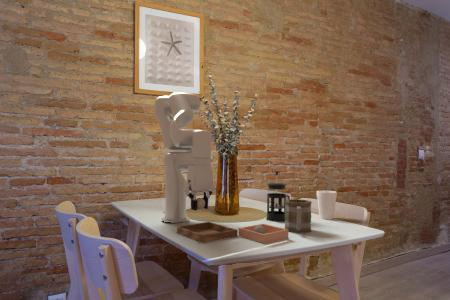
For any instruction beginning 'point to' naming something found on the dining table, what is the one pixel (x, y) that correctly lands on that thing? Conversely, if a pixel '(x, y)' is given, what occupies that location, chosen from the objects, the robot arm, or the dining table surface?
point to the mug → (298, 216)
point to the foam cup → (326, 204)
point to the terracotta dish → (269, 236)
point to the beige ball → (200, 203)
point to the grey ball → (259, 229)
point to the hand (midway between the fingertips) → (199, 208)
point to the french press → (272, 214)
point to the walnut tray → (207, 232)
